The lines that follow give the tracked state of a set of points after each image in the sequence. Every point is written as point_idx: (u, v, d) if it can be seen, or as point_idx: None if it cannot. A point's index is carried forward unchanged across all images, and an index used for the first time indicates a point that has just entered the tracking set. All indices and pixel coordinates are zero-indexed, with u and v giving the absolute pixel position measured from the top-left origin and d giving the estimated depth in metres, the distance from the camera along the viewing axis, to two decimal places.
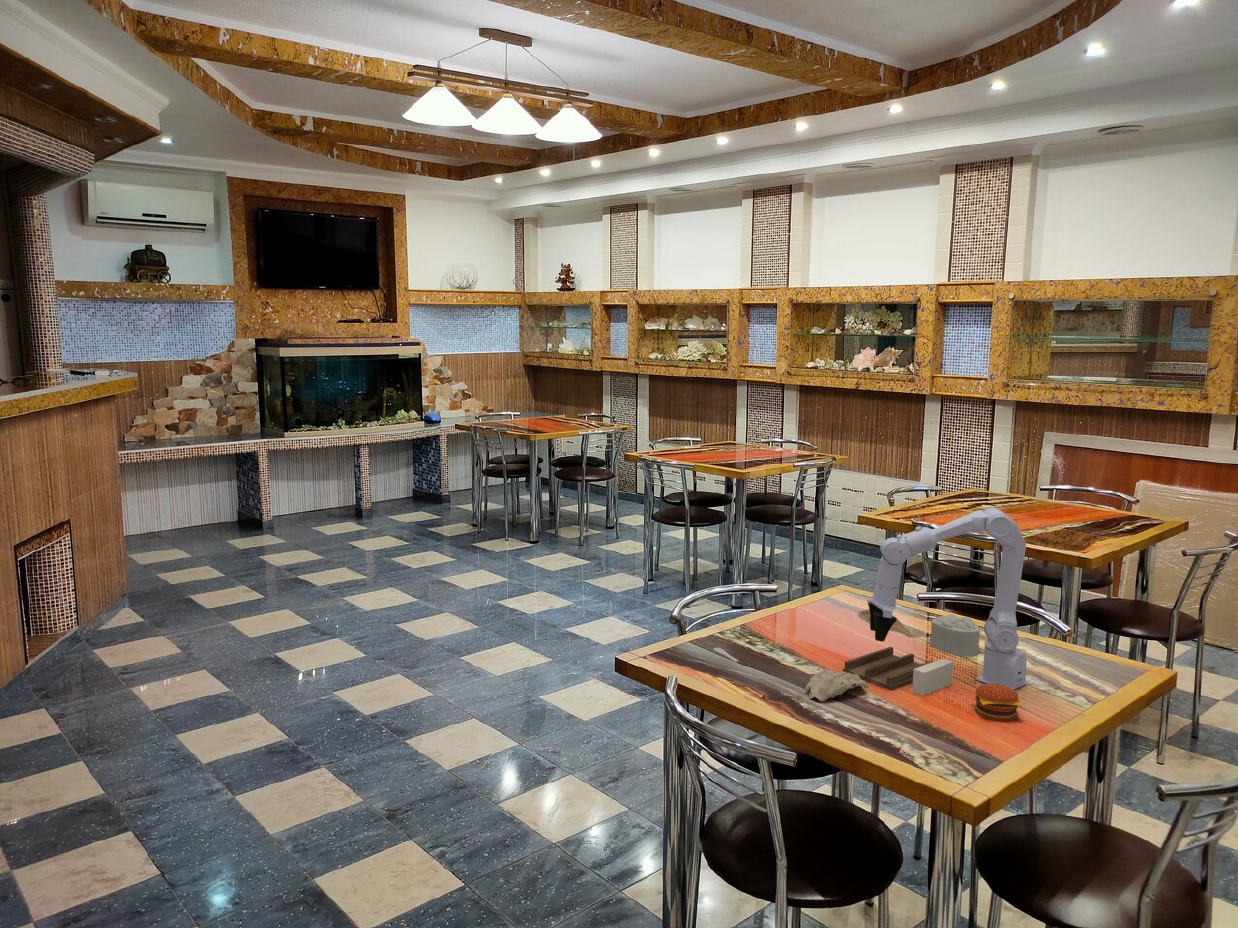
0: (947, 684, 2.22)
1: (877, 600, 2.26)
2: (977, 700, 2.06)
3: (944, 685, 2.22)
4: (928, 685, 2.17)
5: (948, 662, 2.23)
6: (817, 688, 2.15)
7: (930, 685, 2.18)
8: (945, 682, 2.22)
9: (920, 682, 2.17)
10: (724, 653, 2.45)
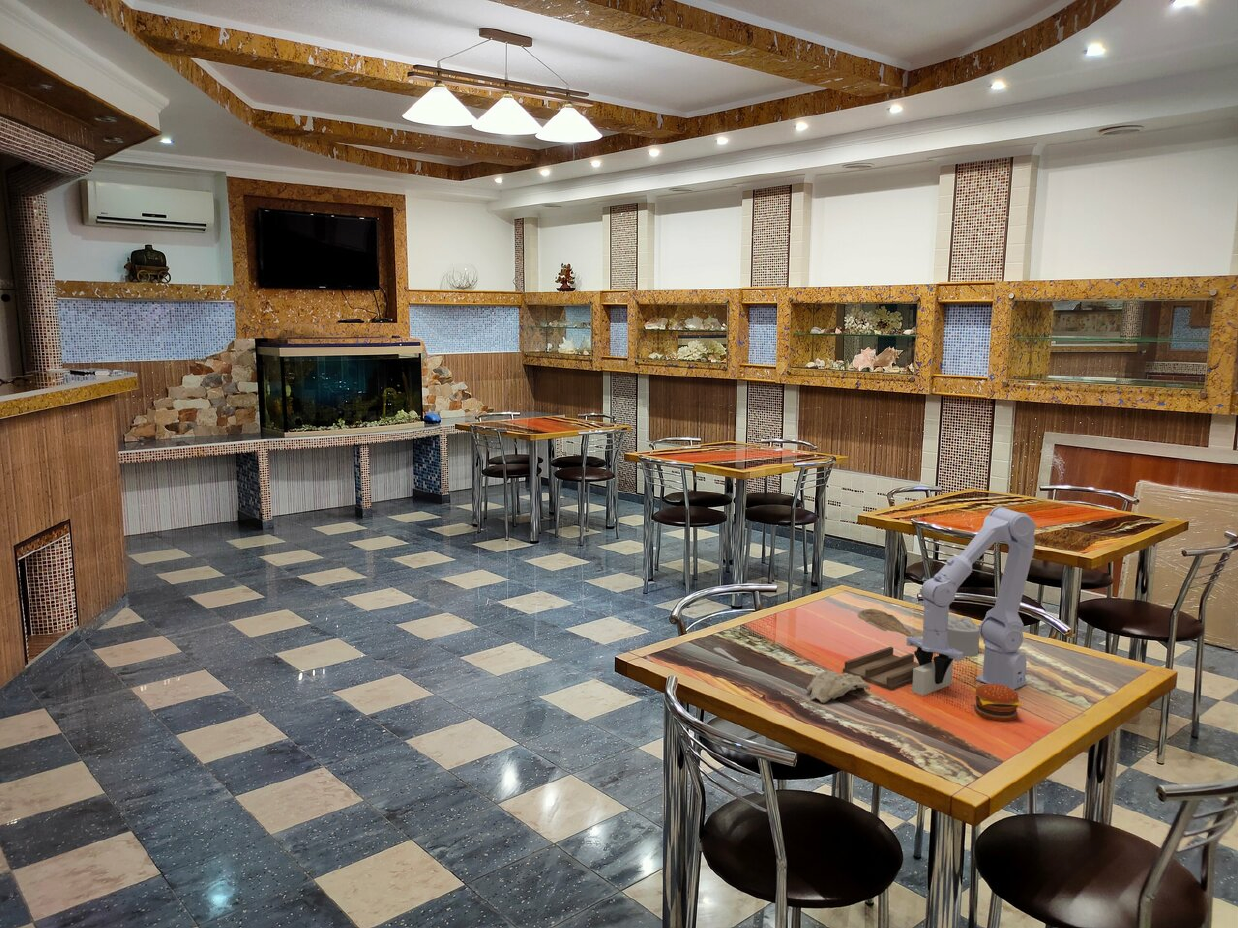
0: (947, 684, 2.22)
1: (936, 646, 2.17)
2: (977, 700, 2.06)
3: (944, 685, 2.22)
4: (928, 685, 2.17)
5: None
6: (818, 689, 2.15)
7: (930, 685, 2.18)
8: (945, 682, 2.22)
9: (920, 681, 2.17)
10: (724, 653, 2.45)
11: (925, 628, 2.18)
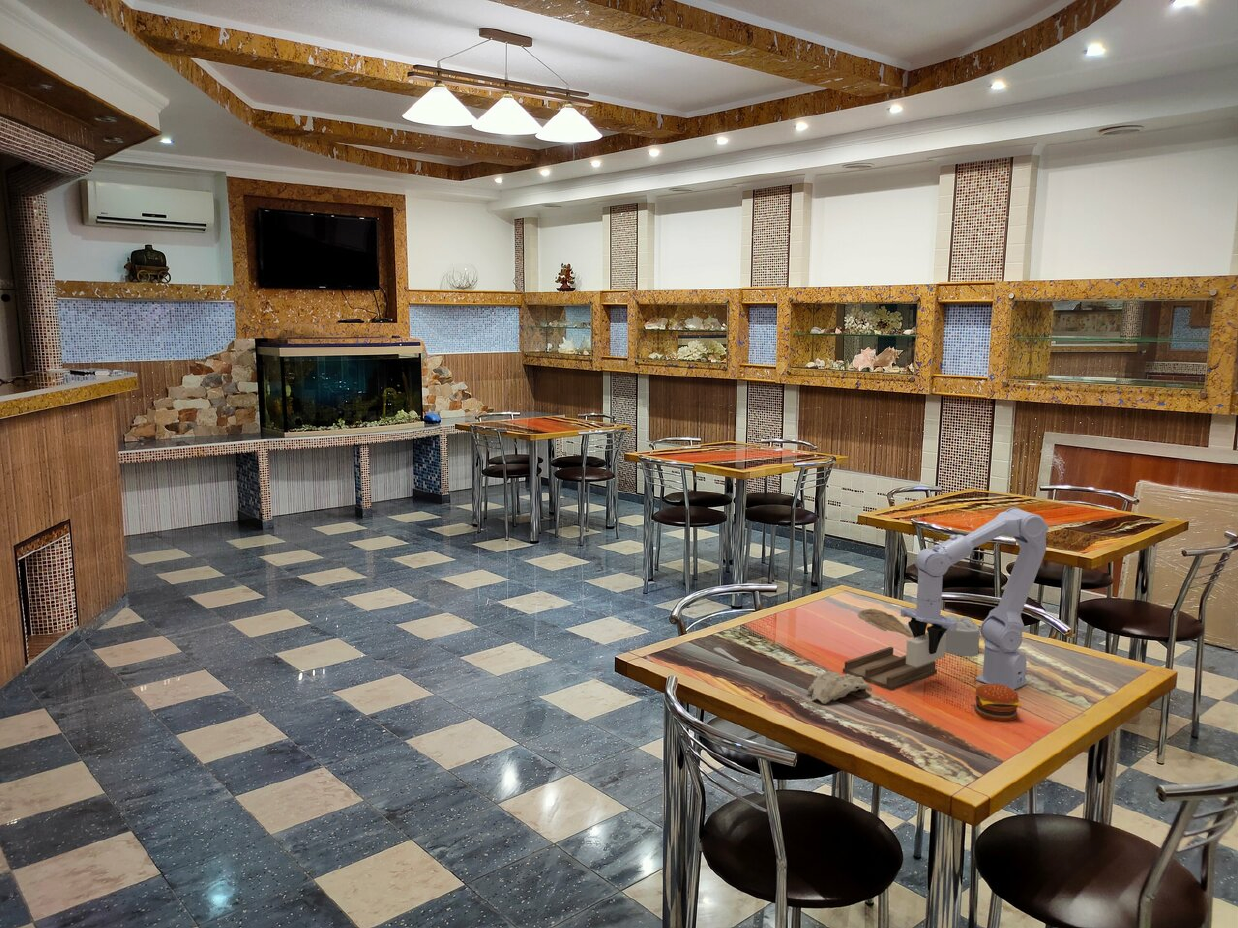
0: (940, 656, 2.23)
1: (930, 616, 2.17)
2: (977, 700, 2.06)
3: (937, 656, 2.22)
4: (921, 656, 2.18)
5: None
6: (820, 690, 2.14)
7: (924, 656, 2.19)
8: (938, 653, 2.22)
9: (914, 653, 2.17)
10: (724, 653, 2.45)
11: (919, 598, 2.19)
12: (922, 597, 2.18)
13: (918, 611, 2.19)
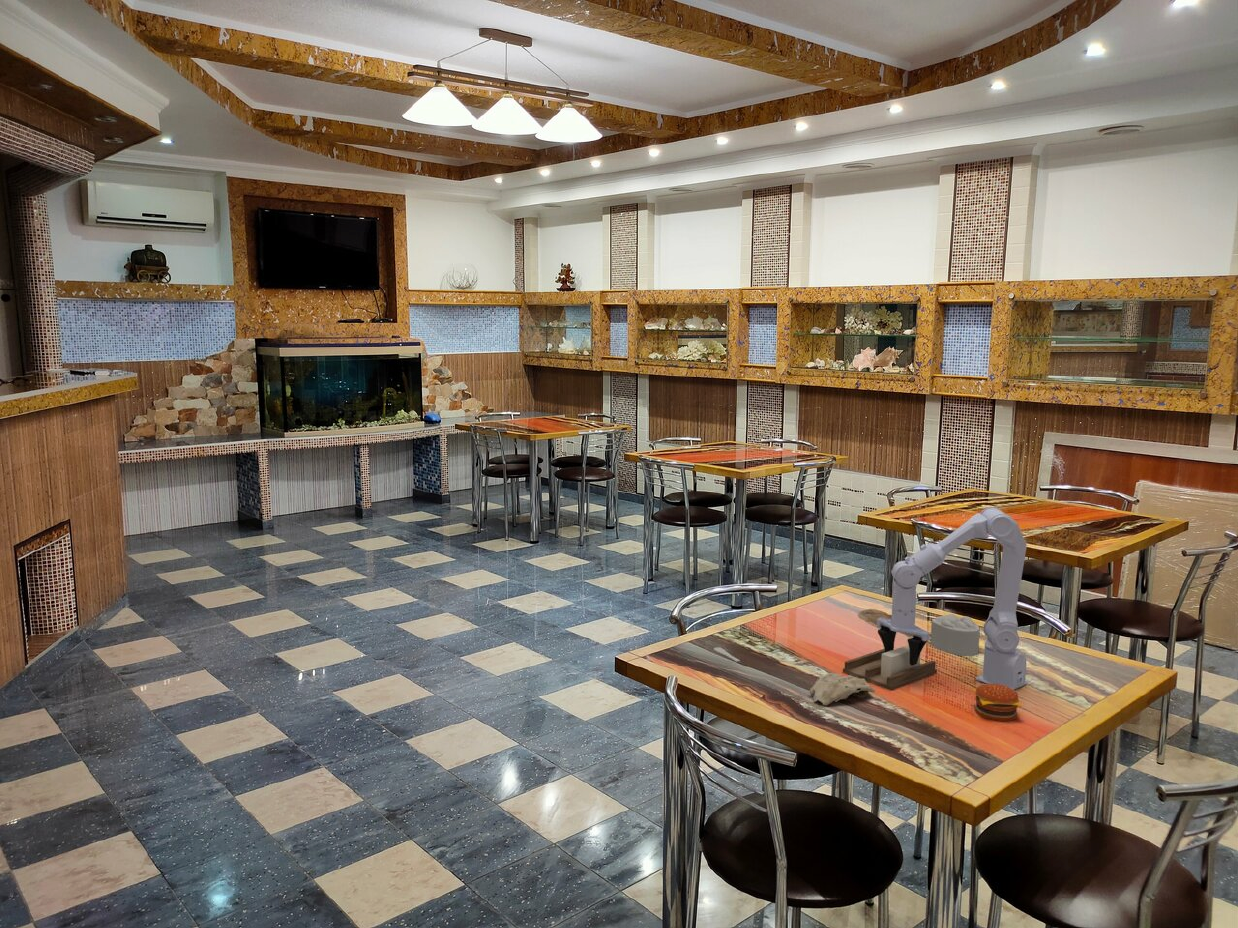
0: None
1: (904, 626, 2.24)
2: (977, 700, 2.06)
3: None
4: (896, 670, 2.25)
5: None
6: (821, 691, 2.13)
7: (898, 670, 2.25)
8: None
9: (888, 666, 2.24)
10: (725, 653, 2.45)
11: (894, 609, 2.25)
12: (894, 607, 2.25)
13: (893, 621, 2.26)
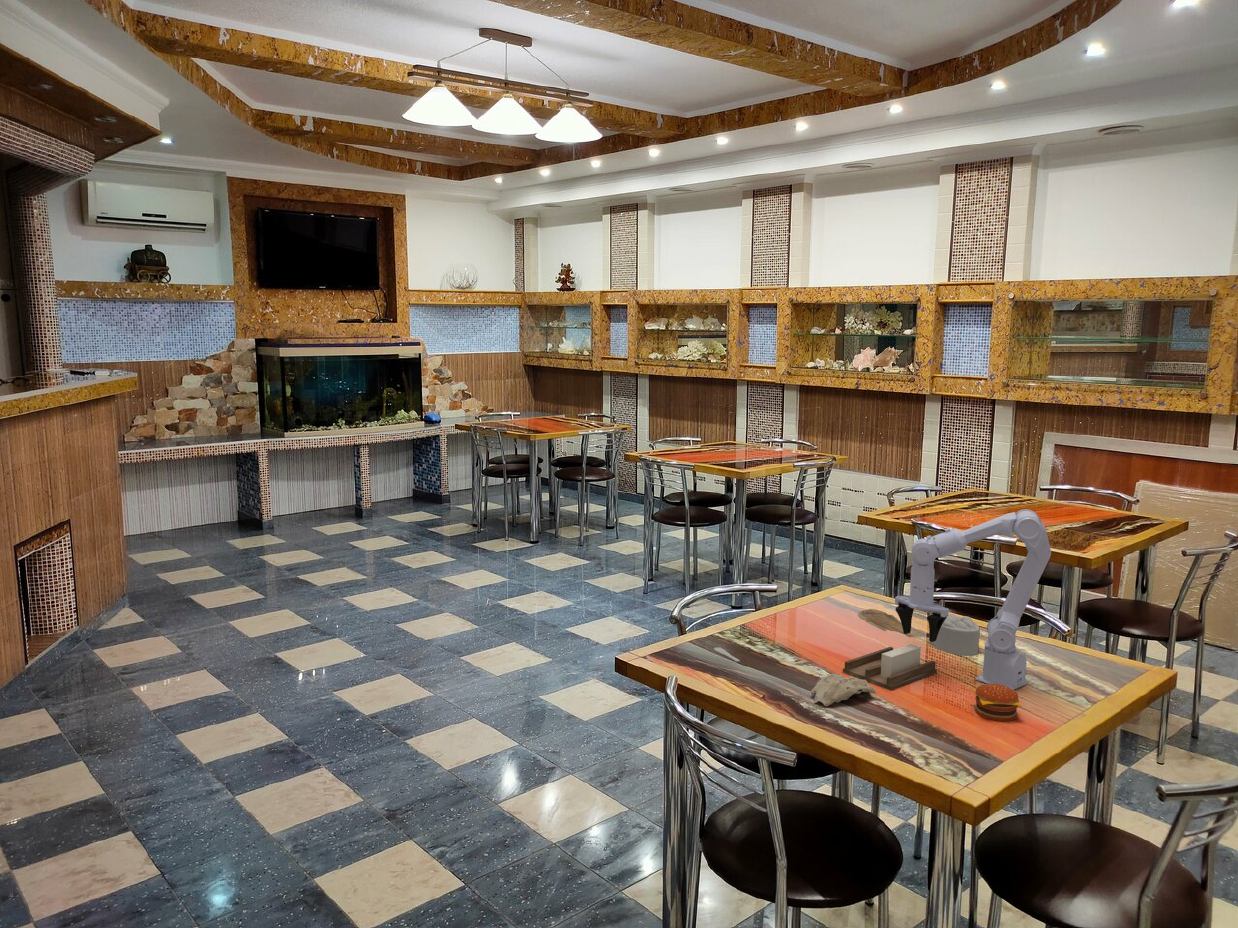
0: None
1: (923, 603, 2.27)
2: (977, 700, 2.06)
3: None
4: (896, 670, 2.25)
5: (916, 647, 2.30)
6: (822, 692, 2.13)
7: (898, 670, 2.25)
8: None
9: (888, 666, 2.24)
10: (725, 653, 2.45)
11: (912, 586, 2.28)
12: (911, 584, 2.28)
13: (911, 599, 2.29)
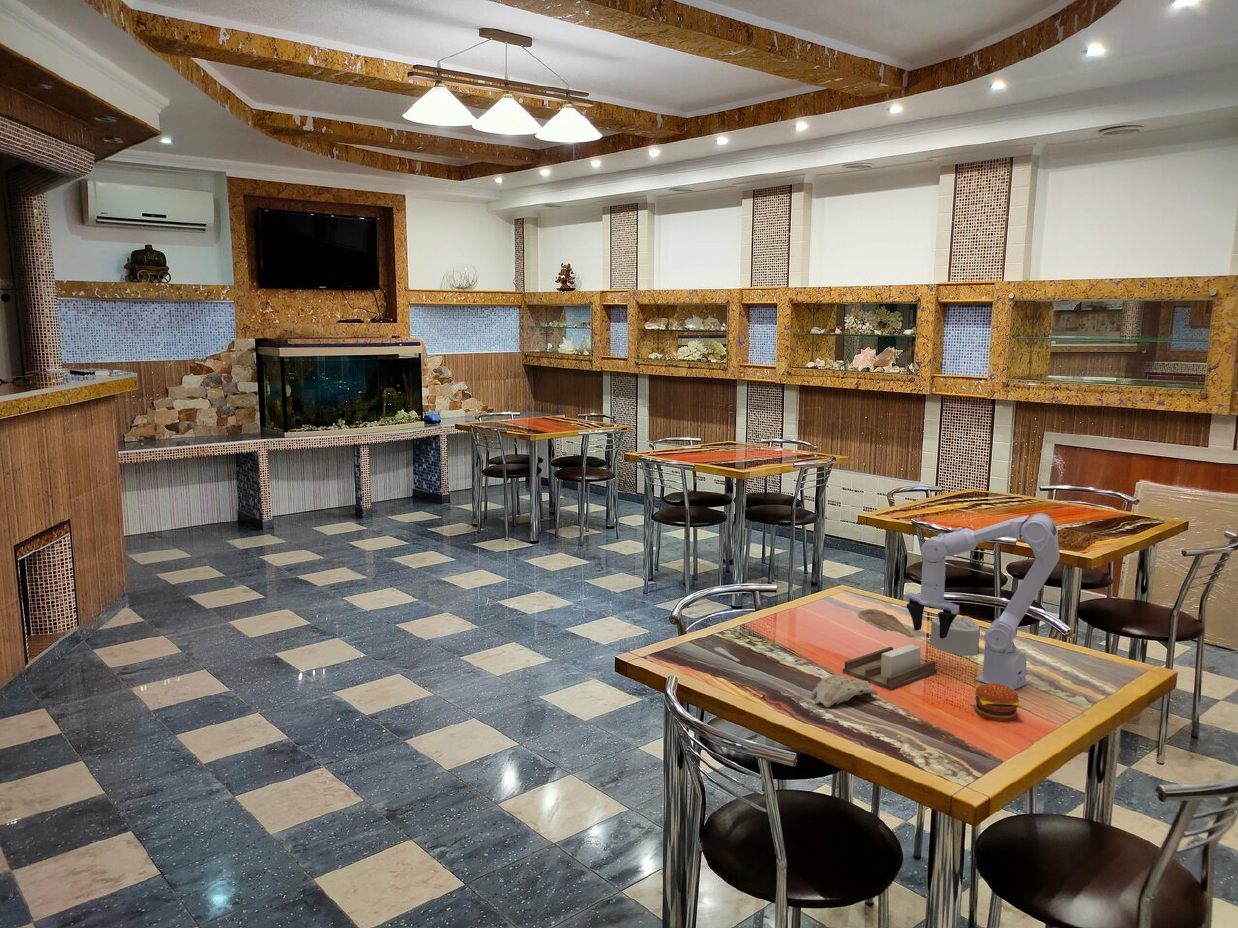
0: None
1: (934, 600, 2.29)
2: (977, 700, 2.06)
3: None
4: (896, 670, 2.25)
5: (916, 647, 2.30)
6: (823, 693, 2.12)
7: (898, 670, 2.25)
8: None
9: (888, 666, 2.24)
10: (725, 653, 2.45)
11: (923, 583, 2.30)
12: (921, 580, 2.31)
13: (922, 595, 2.31)
